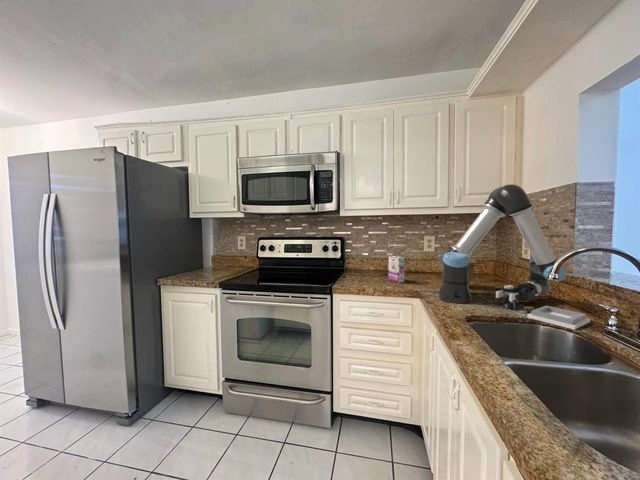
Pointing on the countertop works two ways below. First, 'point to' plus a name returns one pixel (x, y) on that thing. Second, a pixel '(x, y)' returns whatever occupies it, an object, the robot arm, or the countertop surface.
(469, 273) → the plant pot
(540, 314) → the tray
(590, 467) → the countertop surface
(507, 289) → the push button
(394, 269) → the candy bar box
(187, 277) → the countertop surface
